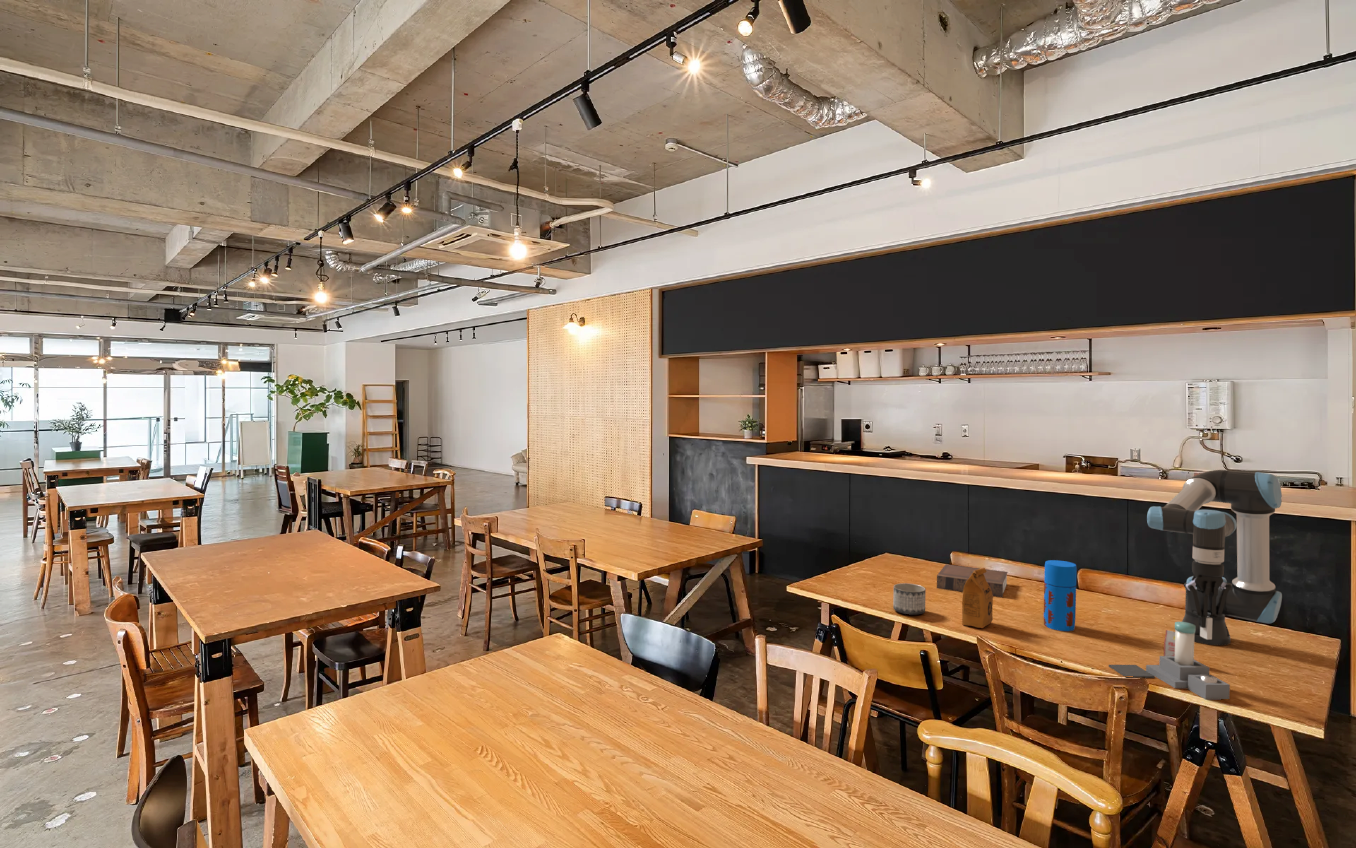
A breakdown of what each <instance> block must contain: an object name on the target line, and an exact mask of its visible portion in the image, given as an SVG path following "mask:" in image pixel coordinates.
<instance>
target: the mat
mask: <svg viewBox="0 0 1356 848" xmlns="http://www.w3.org/2000/svg"><path fill="white" fill-rule="evenodd" d="M1108 667H1109V668H1110V669H1112V670H1113V669H1114V671H1115V672H1117V673H1118V674H1120V675H1121V676H1123V677H1124V676H1133V677H1145V678H1144V679H1154V678H1156V677H1155V676H1154V675H1152V674H1150V673H1149V672H1147V671H1146V669H1144V668H1143V667H1140V666H1139V665H1137V664H1108Z"/></svg>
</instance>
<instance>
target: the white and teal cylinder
mask: <svg viewBox="0 0 1356 848" xmlns="http://www.w3.org/2000/svg"><path fill="white" fill-rule="evenodd" d="M1195 628H1196V626H1195V625H1194V624H1191V623H1187V622H1182V621H1175V622H1174V630H1175V631H1174V632H1175V662H1176V663H1177V664H1179V665H1181V666H1194V660H1195V641H1194V634H1195Z"/></svg>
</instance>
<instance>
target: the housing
mask: <svg viewBox="0 0 1356 848" xmlns="http://www.w3.org/2000/svg"><path fill="white" fill-rule="evenodd" d="M1158 662H1159V663H1158V664H1146V665H1145V671H1147V672H1149V673H1150V674H1152V675H1154V676H1155V678H1157V679H1159V680H1161V681H1162V682H1164V683H1165V684H1167V685H1169V686H1170V687H1172V688H1174V689H1187V690H1188V691H1190V692H1192V693H1193V694H1194V695H1195V694H1196V695H1197V696H1199V697H1201V698H1202V699H1203V700H1221V699H1229V700H1230V691H1231V689H1230V686H1231V685H1230V684H1229V683H1227V682H1225V681H1223V680H1221V679H1219V678H1218V677H1217V683H1206V682H1204V681H1202V680H1201V679H1200V675H1201V674H1209V675H1210V666H1208V665H1205V664H1204V663H1201V662H1199V661H1197V660H1196V659H1194V666H1181V665H1179V664H1177V663H1176V662H1175V656H1164V655H1159V661H1158Z"/></svg>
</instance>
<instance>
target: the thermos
mask: <svg viewBox="0 0 1356 848" xmlns="http://www.w3.org/2000/svg"><path fill="white" fill-rule="evenodd" d="M1077 570H1078V568H1077V564H1076V563H1074V562H1070V561H1066V560H1065V561H1064V560H1058V559H1056V560H1055V559H1052V560H1051V559H1050V560H1046V561H1045V563H1044V578H1043V579H1044V582H1043V583H1044V584H1043V589H1044V590H1043V625H1044V626H1045V627H1046V628H1048V629H1051V630H1055V631H1061V632H1072V631H1074V630H1075V627H1076V617H1077V616H1076V615H1077V614H1076V611H1077V610H1076V609H1077V608H1076V607H1077Z"/></svg>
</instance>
